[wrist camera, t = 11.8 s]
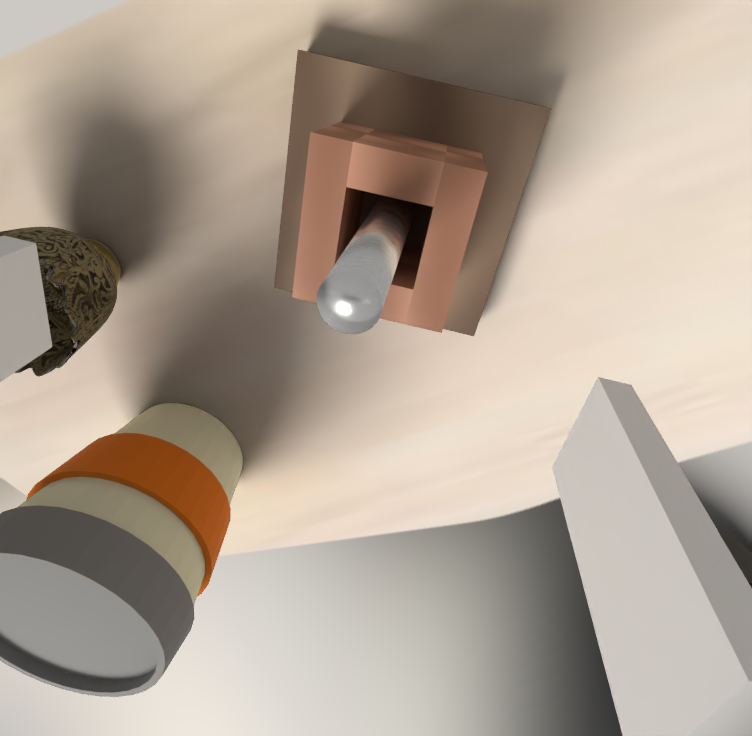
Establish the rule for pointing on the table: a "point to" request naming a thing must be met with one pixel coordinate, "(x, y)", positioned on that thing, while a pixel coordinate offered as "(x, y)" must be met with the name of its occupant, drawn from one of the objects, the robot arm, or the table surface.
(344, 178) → the brown open box
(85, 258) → the cup
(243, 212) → the table surface
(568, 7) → the table surface
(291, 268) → the brown square board
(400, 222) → the silver metal rod
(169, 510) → the reusable coffee cup
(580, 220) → the table surface
